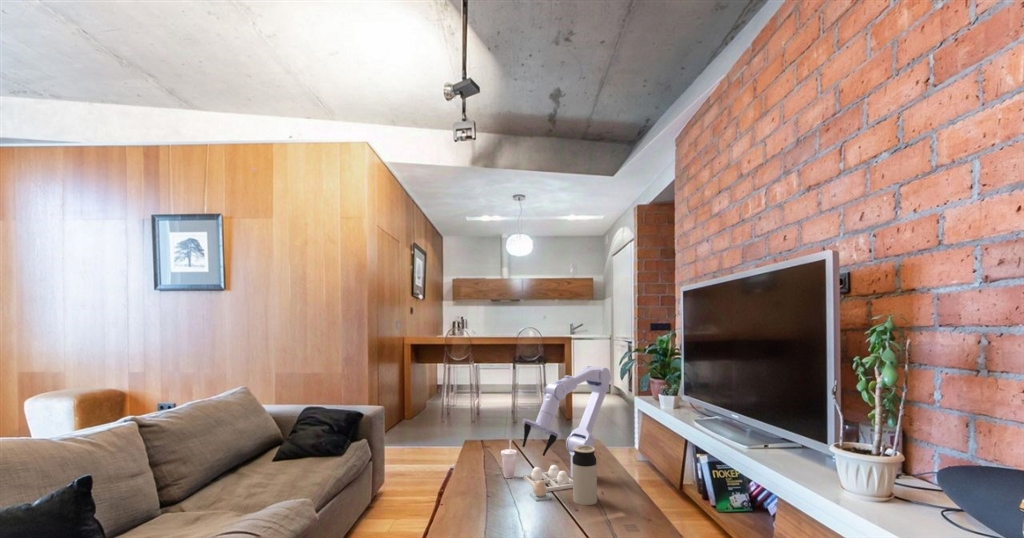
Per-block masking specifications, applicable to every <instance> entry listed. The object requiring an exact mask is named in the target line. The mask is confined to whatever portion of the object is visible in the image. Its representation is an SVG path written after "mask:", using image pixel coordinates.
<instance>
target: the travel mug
mask: <svg viewBox="0 0 1024 538" xmlns="http://www.w3.org/2000/svg"><path fill="white" fill-rule="evenodd" d="M573 450H574V455H573V478H572V480H573V488H572V498H573V499H572V500H573V502H574V503H575V504H578V505H581V506H592V505H595V504H597V503H598V481H597V479H598V477H597V476H598V475H597V472H598V471H597V470H598V469H597V457H596V455H595V451H596V448H595V447H592V446H588V445H578V446H575V447H573Z"/></svg>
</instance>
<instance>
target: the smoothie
mask: <svg viewBox="0 0 1024 538" xmlns="http://www.w3.org/2000/svg"><path fill="white" fill-rule="evenodd" d="M500 455H501V459H502V460H501V461H502V469H503V478H504V477H505V479H507V478H508V479H509V480H510V478H511V479H513V478H515V469H516V460H517V455H518V452H517V450H516V449H512V439H509V448H506V449H503V450H501V451H500Z"/></svg>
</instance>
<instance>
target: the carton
mask: <svg viewBox="0 0 1024 538" xmlns="http://www.w3.org/2000/svg"><path fill="white" fill-rule="evenodd" d="M542 473H543V479H542V480H541V481H543V482H544V483H545V485H547V484H550V485H551V486H546V488H547V492H546V493H549V492H555V491H562V490H568V489H573V478H572V477H569V483H568V484H566V485H558V483H557V480H556V478H554V479H550V477H549V475H548V471H545V472H542ZM522 479H523V480H524V481H525V482H526V483H528V485H529V486H531V487H532V489H533V488H534V486H535V483H536V482H537V481H533V480H532V478H531V473H530V474H525V475H524V474H523V476H522Z"/></svg>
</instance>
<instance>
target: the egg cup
mask: <svg viewBox="0 0 1024 538" xmlns="http://www.w3.org/2000/svg"><path fill="white" fill-rule="evenodd" d="M529 496H530V497H531V499H533V500H534V501H535V502H539V501H547V500H551V499H552V496H550V495H549V494H548V492H546V494H545V496H543V497H537V496H536V495H535V494H534V492H531V493H529Z"/></svg>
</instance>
